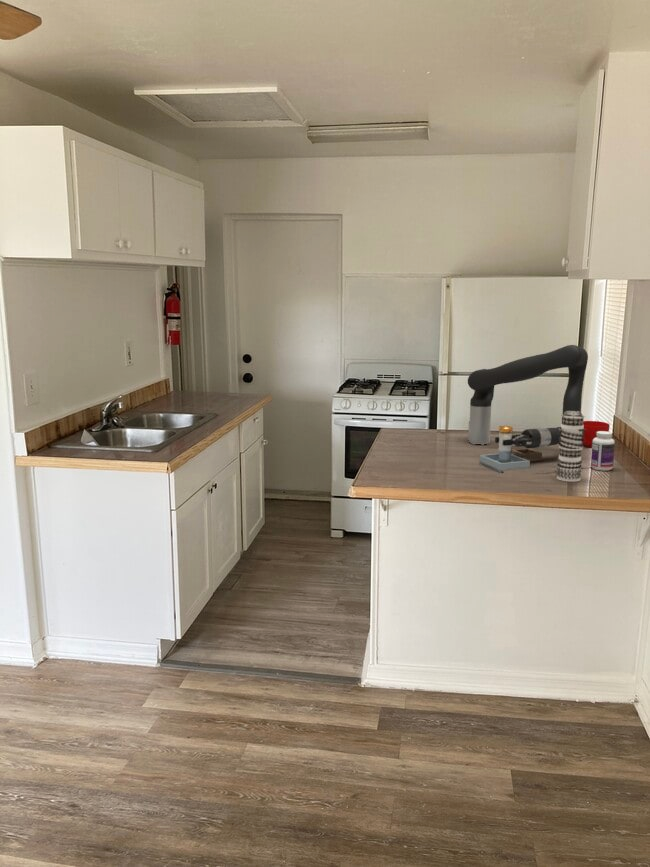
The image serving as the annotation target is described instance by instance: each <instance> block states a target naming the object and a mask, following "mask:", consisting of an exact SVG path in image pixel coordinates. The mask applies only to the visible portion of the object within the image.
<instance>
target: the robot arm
mask: <svg viewBox="0 0 650 867" xmlns="http://www.w3.org/2000/svg"><path fill="white" fill-rule="evenodd" d="M588 360H589V355H588V352H587V351H586V349H585V348H584V347H581V346H579V345H575V344H568V345H566V346H563V347H560V348H557V349H554V350H552V351H549V352H546V353H541V354H536V355H535V354H534V355H531V356H526V357H524V358H519V359H515V360H512V361H510V362H507V363H504V364H501V365H499V366H497V367H493V368H492V367H491V368H482V369H477V370H475V371H472V372H471V373H470V374H469V376H468V378H467V385H468V387H469V388H470V389H472V390H473V391H474V393H473V395H472V397H471V398H470V400H469V401H470V403H469V404H470V406H469V421H468V430H467V431H468V433H467V437H468V438H467V441H468V440H469V441H468V443H469V442H470V443H473V444H472V445H475V444H481V445H480V446H484V444H487V445H490V442H491V441H490V440H491V420H492V419H491V418H492V404H493V403H492V402H493V399H494V394H495V393H494V392H495V386H497V385H503V384H510V383H516V382H523V381H527V380H531V379H534V378H537V377H539V376H541V375H543V374H545V373H546V372H548V371H551V370H557V369H564V368H567V369H568V370H567V371H568V382H567V385H566V389H565V391H564V395H563V399H562V400H563V401H562V415H563V414H564V413H565V412H566V411H578V412H581V413H582V397H583V396H582V395H583V388H584V387H583V386H584V381H585V380H584V379H585V374H586V370H587V365H588V362H589V361H588ZM559 427H560V426H557V427H547V428H546V427H544V428H541V427H539V428H538V427H537V428H529V429H524V430H523V431H522V433H516V434H514V433H513V432H512V439H508V440H503V445H504V446H507V445H511V446H512V447H513V446H514V447H517V448H518V447H523V448H530V449H535V448H543V447H547V446H548V447H549V446H556V445H559V444H558V442H559V437H560V435H559V432H560V431H559ZM582 434H584V432H582ZM582 438H583V437H582ZM470 443H469V444H470ZM494 443H496V444H499V436H496V437H494ZM560 443H561V442H560Z"/></svg>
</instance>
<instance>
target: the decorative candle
mask: <svg viewBox="0 0 650 867" xmlns="http://www.w3.org/2000/svg"><path fill="white" fill-rule="evenodd" d="M585 417H586V416H584V414H583V413H582V411H581V412H578V411H566V412H565V413H564V414H563V413H562V414H561V423H560V426H558V427H559V431H560V432H559V435H560V437H559V442H558V444H557V445H558V448H559V454H558V459H557V462H558V463H557V464H556V465H557V466H558V467H557V468H556V475H557V476H556V479H557V480H560V481H563V482H572V483H574V482H579V481H581V480H582V479H581V476H582V474H581V473H582V469H581V468H582V463H583V462H582V450H583V448H584V444H583V443H582V441H584V439H583V438H582V437H584V436H585V435H584V434H582V432H584V431H585V429H584V425H583V421H585V420H584V419H585ZM560 442H561V443H560Z"/></svg>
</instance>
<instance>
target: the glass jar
mask: <svg viewBox="0 0 650 867" xmlns="http://www.w3.org/2000/svg"><path fill="white" fill-rule="evenodd" d="M513 431H514V427H513V426H512V425H511V426H510V425H499V426H498V432H499V434H498V437H499V443H498V453H497V454H498V462H500V463H509V462H511V450H512V445H507V446H504V445H503V440H508V439H512V433H513Z"/></svg>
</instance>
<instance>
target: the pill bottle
mask: <svg viewBox="0 0 650 867" xmlns="http://www.w3.org/2000/svg"><path fill="white" fill-rule="evenodd" d="M612 433H613V432H610V431H609V432H607V431H598V432H596V436H597V437H596V438H594V439H593V441H592V447H591V458H590V459H591V460H590V467H591V469H593V470H595V471H604V472H606V471H607V472H609V471H610V470H612V469H613V468H614V457H615V446H616V443H615V439H613V438H612V435H613V434H612Z"/></svg>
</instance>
